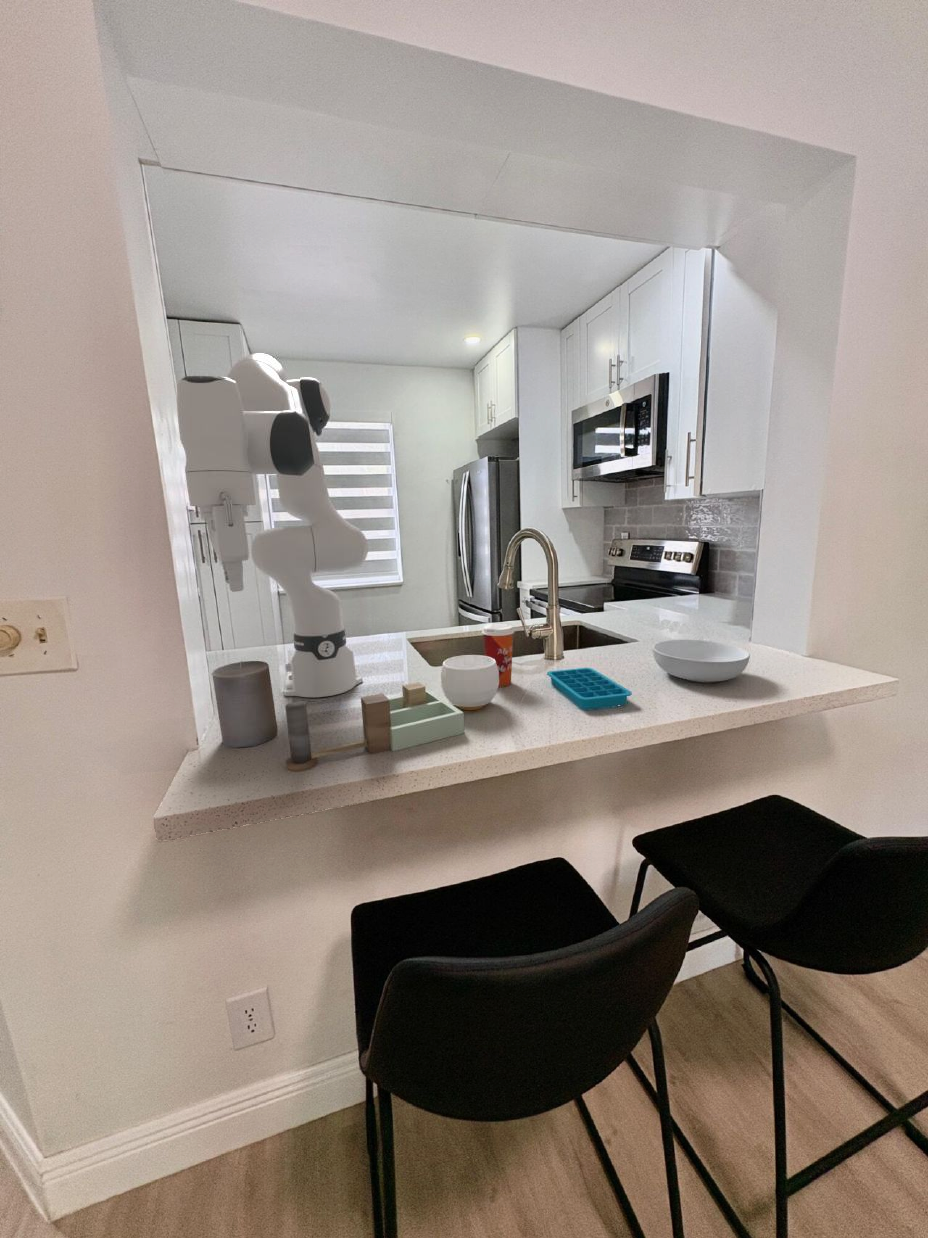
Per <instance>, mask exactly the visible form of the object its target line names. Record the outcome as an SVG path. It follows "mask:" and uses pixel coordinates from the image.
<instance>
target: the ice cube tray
mask: <svg viewBox="0 0 928 1238" xmlns="http://www.w3.org/2000/svg"><path fill="white" fill-rule="evenodd" d="M546 675H547V676H548V677H550V683H551V686H552V687H553V688H555V689H556V690H558V691H559V692H560V693H561V694H562V695H563V696H565V697H566V698H567V699H569V700H570V701H571V702H572V703H574V704H575V705H576V706H577V707H578V708H579V709H581V710H585V711H591V710H597V709H598V710H599V708H600V709H606V708H608V707H609V708H614V707H613V706H617V707H619V706H618V705H625V704H626V705H627V699H628V697H630V696H632V694H633V692H632V691H630V690H629V689H627V688H625V687H623V686H622V685H621V684H619V683H617V682H616V681H614V680H612V679H610V678H609V677H607V676H606V675H604V674H602V673H600V672H599V671H597V670H595V669H594V668H591V667H581V668H579V667H577V668H569V669H560V670H559V669H558V670H551V671H547V673H546ZM626 705H625V706H626Z"/></svg>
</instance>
